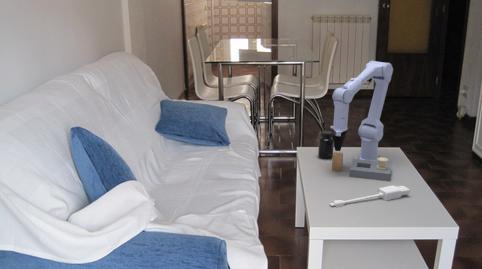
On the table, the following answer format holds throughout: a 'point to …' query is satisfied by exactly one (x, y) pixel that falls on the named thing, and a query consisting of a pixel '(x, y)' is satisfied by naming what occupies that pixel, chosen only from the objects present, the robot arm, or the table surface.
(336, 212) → the table surface
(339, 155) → the brown wooden block
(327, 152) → the supplement bottle
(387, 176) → the board with square hole
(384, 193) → the charging cable
